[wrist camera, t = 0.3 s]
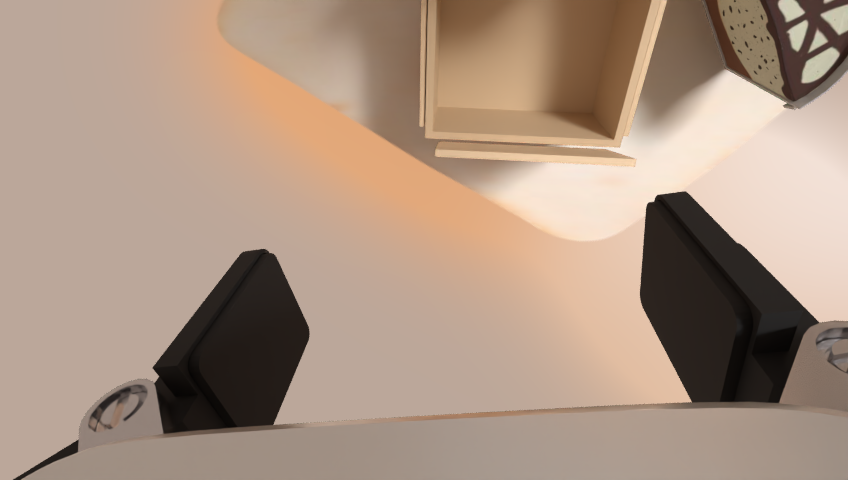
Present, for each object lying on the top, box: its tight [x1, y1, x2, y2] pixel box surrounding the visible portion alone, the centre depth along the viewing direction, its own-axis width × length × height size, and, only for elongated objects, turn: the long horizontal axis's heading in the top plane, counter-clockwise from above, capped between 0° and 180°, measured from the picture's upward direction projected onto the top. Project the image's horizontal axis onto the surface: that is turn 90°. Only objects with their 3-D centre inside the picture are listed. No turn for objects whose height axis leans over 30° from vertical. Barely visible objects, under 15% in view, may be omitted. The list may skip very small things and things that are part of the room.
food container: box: [702, 0, 848, 109], centre depth 31 cm, size 12×6×10 cm, turn 36°
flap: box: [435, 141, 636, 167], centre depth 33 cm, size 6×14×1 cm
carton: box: [419, 0, 667, 148], centre depth 35 cm, size 15×17×8 cm
